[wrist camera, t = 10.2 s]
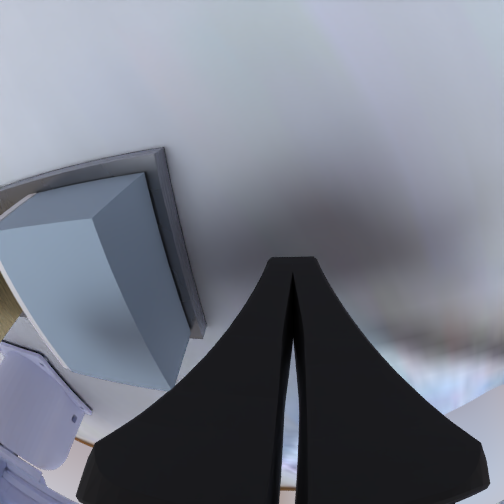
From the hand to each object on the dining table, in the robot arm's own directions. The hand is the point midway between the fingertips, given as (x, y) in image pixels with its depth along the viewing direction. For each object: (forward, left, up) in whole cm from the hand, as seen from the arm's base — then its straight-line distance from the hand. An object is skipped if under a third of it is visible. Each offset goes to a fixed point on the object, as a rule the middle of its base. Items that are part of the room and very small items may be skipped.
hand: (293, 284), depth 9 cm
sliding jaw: (0, +7, -1) cm, 7 cm away
